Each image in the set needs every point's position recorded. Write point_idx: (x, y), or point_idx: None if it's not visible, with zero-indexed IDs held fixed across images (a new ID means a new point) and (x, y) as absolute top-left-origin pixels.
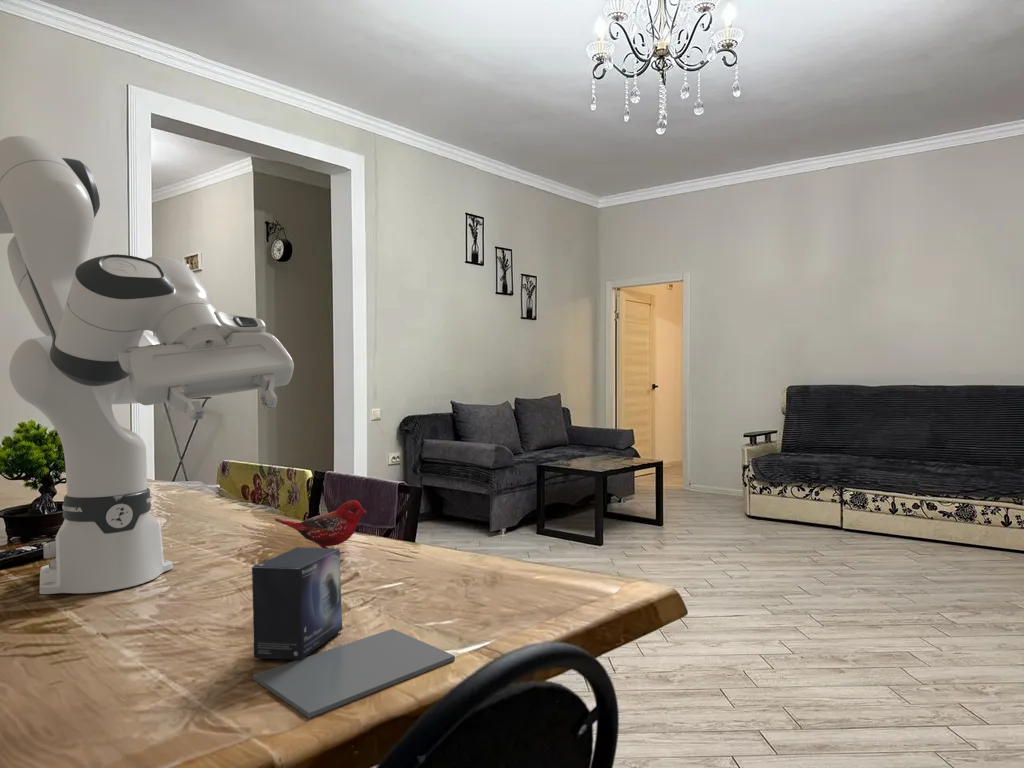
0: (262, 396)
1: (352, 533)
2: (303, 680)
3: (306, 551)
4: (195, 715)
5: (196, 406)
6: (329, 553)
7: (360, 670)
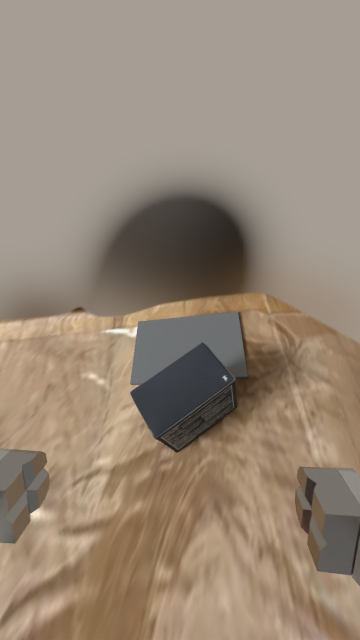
0: (18, 496)
1: None
2: (223, 347)
3: (163, 399)
4: (293, 353)
5: (334, 484)
6: (150, 378)
7: (189, 337)
